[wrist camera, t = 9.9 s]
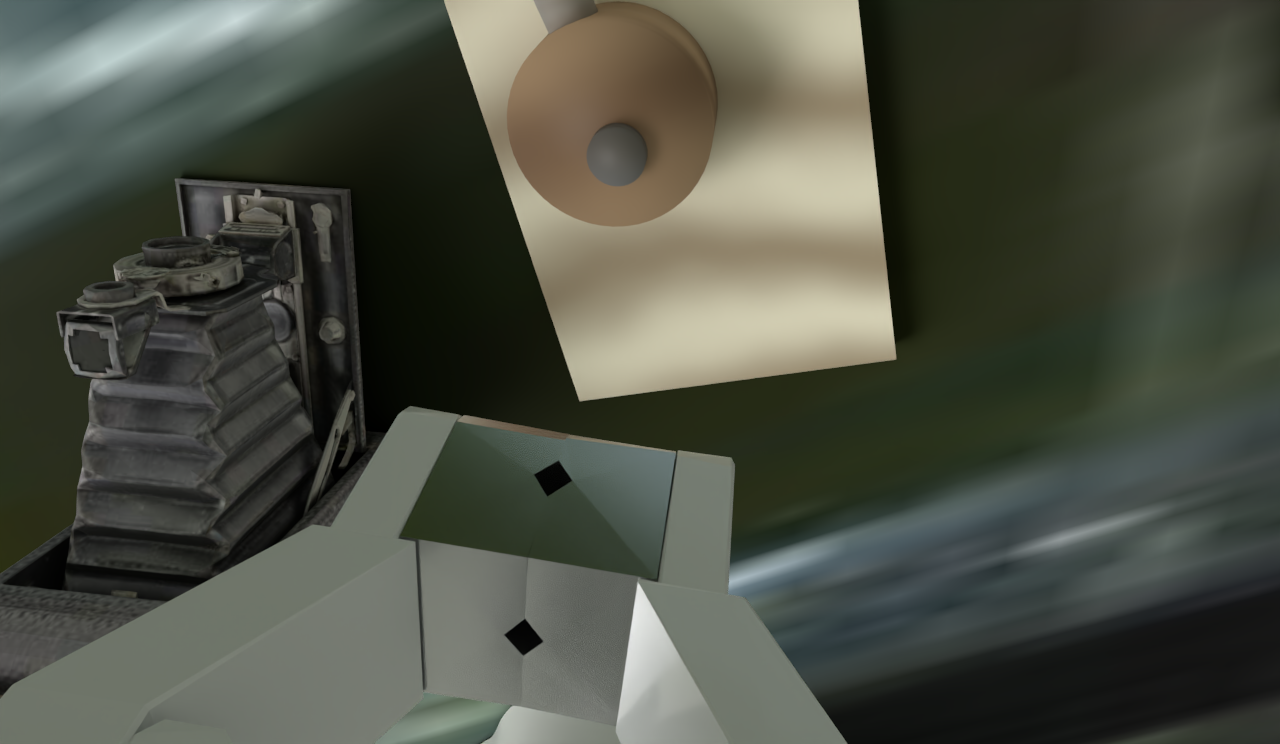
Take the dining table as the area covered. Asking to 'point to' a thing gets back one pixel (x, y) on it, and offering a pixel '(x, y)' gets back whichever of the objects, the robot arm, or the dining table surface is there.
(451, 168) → the dining table surface
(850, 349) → the board
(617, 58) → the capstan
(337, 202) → the camera
